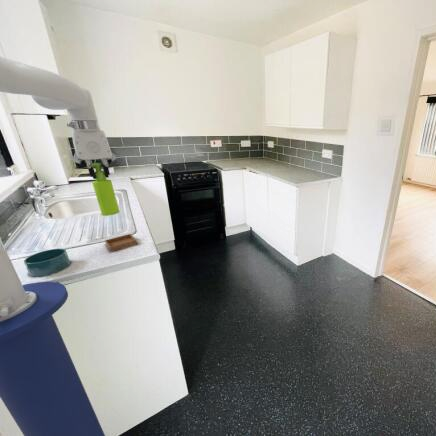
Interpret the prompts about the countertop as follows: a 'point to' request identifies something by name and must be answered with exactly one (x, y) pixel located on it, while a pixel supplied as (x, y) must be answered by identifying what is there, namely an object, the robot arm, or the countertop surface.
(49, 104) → the robot arm
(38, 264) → the bowl
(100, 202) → the soap dispenser
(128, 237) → the tray
